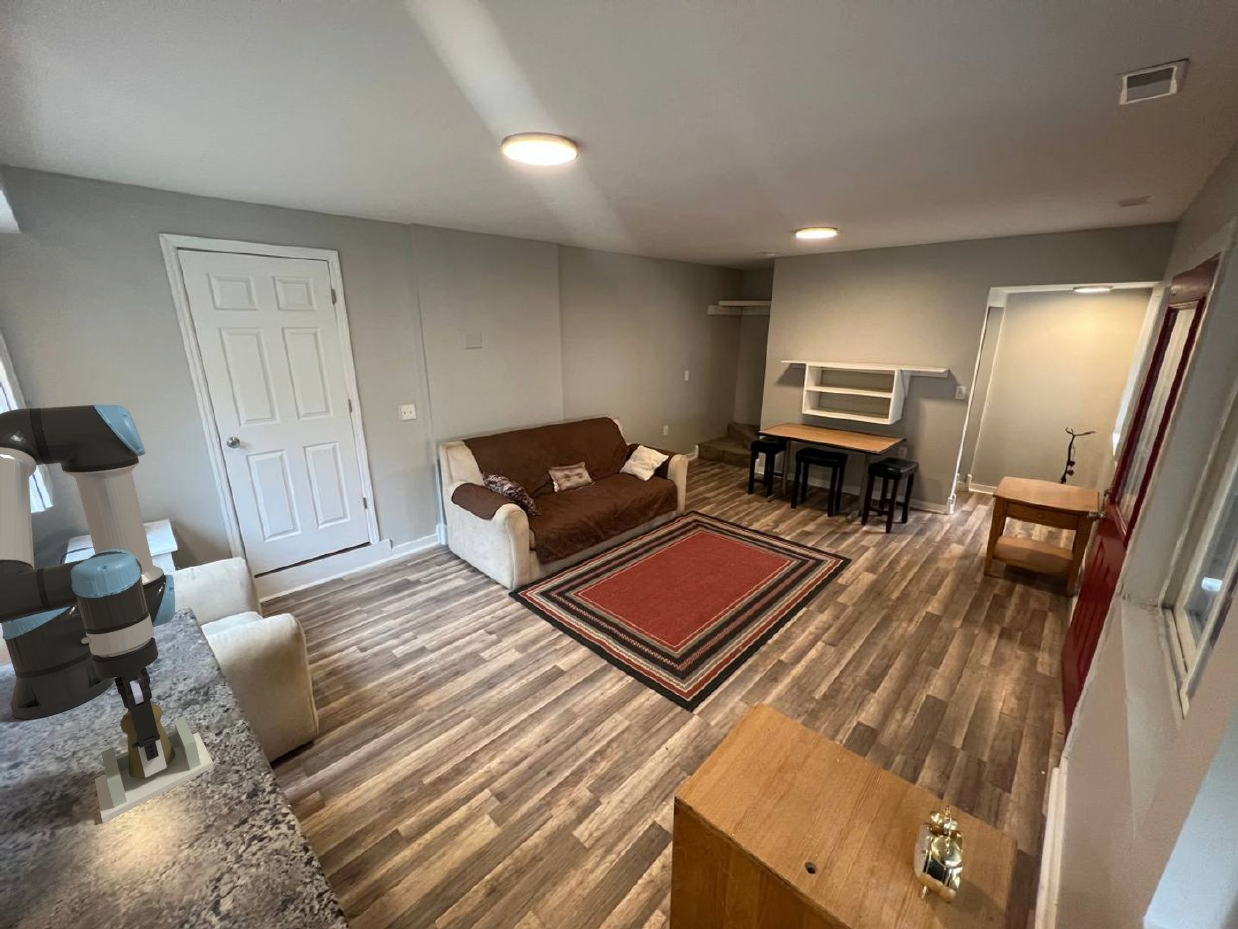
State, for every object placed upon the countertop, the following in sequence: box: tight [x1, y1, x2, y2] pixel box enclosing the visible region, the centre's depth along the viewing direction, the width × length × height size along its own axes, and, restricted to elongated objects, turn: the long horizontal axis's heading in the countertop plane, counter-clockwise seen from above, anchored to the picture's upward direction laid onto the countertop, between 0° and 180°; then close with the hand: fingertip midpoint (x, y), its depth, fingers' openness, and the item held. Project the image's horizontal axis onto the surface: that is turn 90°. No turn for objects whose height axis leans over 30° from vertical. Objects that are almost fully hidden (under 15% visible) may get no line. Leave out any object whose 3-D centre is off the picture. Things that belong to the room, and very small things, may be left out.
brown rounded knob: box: [120, 702, 176, 777], centre depth 84 cm, size 6×6×11 cm
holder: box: [94, 716, 215, 824], centre depth 85 cm, size 12×14×6 cm
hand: (152, 761), depth 85 cm, fingers open, 6 cm apart
